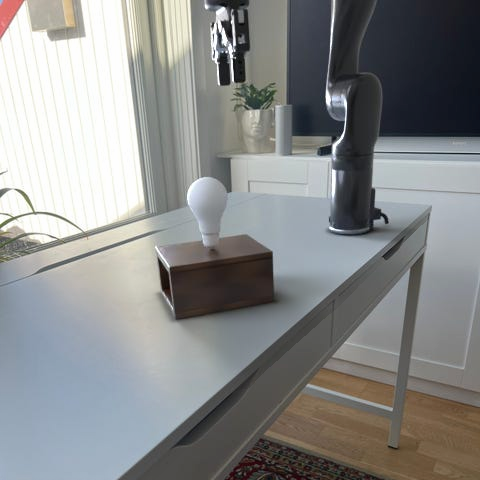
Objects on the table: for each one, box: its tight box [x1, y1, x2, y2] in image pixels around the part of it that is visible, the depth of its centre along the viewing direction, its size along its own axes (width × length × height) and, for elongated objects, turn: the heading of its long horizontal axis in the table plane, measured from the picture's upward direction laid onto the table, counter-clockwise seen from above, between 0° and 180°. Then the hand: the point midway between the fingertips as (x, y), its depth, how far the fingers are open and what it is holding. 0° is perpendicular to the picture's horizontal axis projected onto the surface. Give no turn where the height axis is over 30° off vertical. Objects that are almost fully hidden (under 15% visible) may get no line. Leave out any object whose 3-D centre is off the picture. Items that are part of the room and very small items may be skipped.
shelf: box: [155, 233, 275, 320], centre depth 77 cm, size 16×12×8 cm
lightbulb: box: [186, 176, 229, 249], centre depth 73 cm, size 6×6×11 cm
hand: (231, 84), depth 85 cm, fingers open, 8 cm apart
